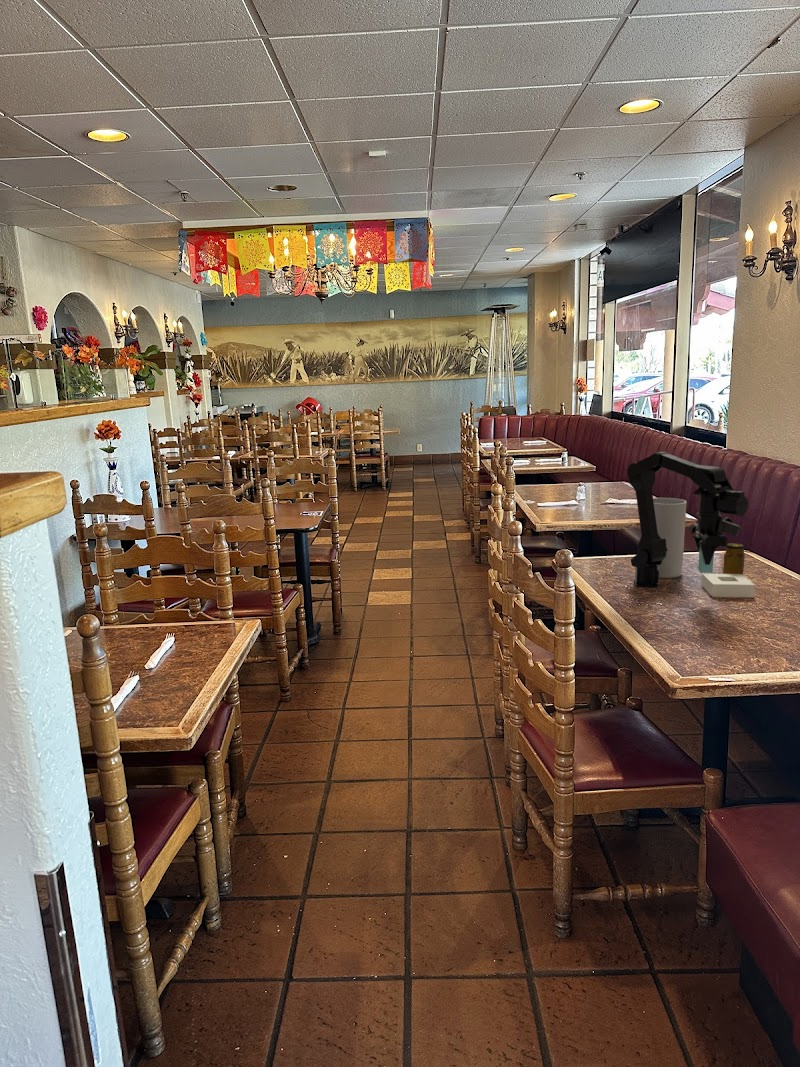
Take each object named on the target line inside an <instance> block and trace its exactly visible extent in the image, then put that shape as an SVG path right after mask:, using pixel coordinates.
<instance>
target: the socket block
mask: <svg viewBox="0 0 800 1067" xmlns="http://www.w3.org/2000/svg"><path fill="white" fill-rule="evenodd" d="M751 581H752V580H750V579H749V578H747V577H746V576H745V575H744V574H743V575H742V574H723V573H701V587H702V588H703V589H704V590H705V591H706V592H707V593H708V594H709V595H710V596H711V597H712V598H750V599H751V598H753V599H754V598H755V592H756V584H755V583H753V582H751Z"/></svg>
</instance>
